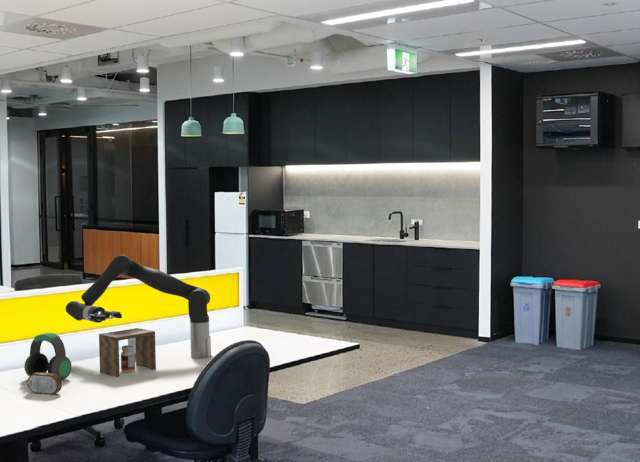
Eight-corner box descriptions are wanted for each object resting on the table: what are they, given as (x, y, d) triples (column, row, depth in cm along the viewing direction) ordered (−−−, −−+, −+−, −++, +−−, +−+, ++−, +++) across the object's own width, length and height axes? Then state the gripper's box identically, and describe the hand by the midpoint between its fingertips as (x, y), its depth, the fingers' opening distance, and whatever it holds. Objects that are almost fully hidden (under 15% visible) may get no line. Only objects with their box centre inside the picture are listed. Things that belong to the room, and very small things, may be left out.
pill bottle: (118, 371, 364) (117, 346, 363) (129, 368, 368) (129, 344, 368) (126, 373, 360) (126, 348, 359) (137, 370, 364) (137, 345, 364)
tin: (62, 393, 323) (62, 373, 323) (57, 395, 320) (57, 374, 320) (31, 391, 328) (31, 371, 328) (26, 393, 325) (26, 372, 325)
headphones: (74, 378, 351) (72, 332, 350) (56, 383, 341) (54, 337, 340) (41, 374, 359) (39, 330, 358) (22, 380, 349) (21, 334, 348)
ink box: (147, 356, 397) (146, 332, 397) (139, 358, 393) (139, 334, 392) (135, 354, 402) (134, 331, 401) (127, 356, 398) (127, 332, 397)
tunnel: (100, 372, 361) (98, 334, 360) (138, 365, 376) (137, 328, 375) (117, 377, 352) (116, 337, 351) (155, 369, 367) (154, 331, 366)
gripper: (80, 307, 376) (99, 310, 365) (107, 304, 387) (126, 307, 375) (80, 323, 376) (99, 327, 365) (107, 319, 387) (126, 323, 376)
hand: (113, 317), depth 370 cm, fingers open, 8 cm apart
